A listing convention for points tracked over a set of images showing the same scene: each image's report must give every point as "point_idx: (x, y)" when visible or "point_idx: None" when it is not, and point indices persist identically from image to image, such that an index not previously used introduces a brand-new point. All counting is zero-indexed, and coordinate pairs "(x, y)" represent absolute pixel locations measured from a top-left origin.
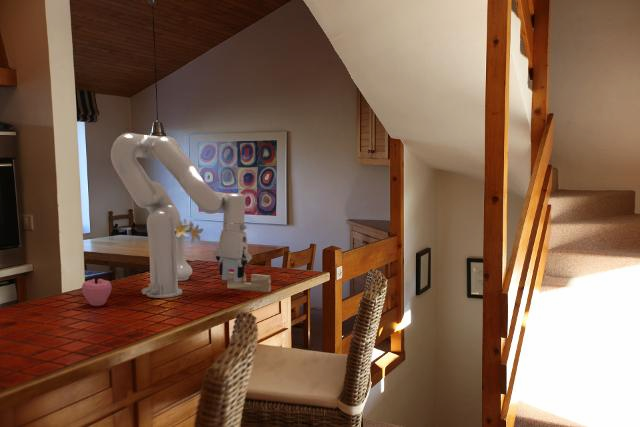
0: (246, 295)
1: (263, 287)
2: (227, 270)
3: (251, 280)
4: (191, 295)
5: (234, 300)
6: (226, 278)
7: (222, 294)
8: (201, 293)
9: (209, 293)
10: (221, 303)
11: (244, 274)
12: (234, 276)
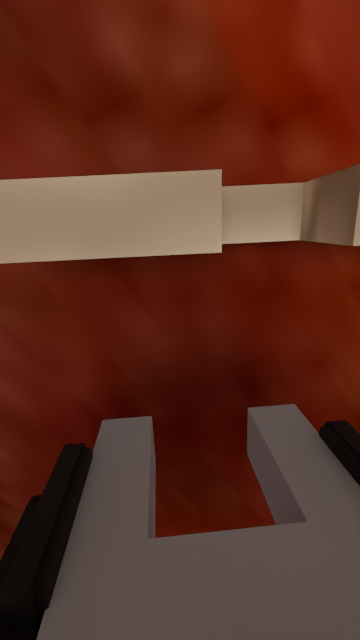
0: (315, 370)
1: None
2: (151, 534)
3: (321, 240)
4: (7, 505)
5: None
6: (155, 466)
7: (152, 415)
8: (15, 450)
9: (59, 430)
10: None
11: (219, 213)
12: (269, 494)
